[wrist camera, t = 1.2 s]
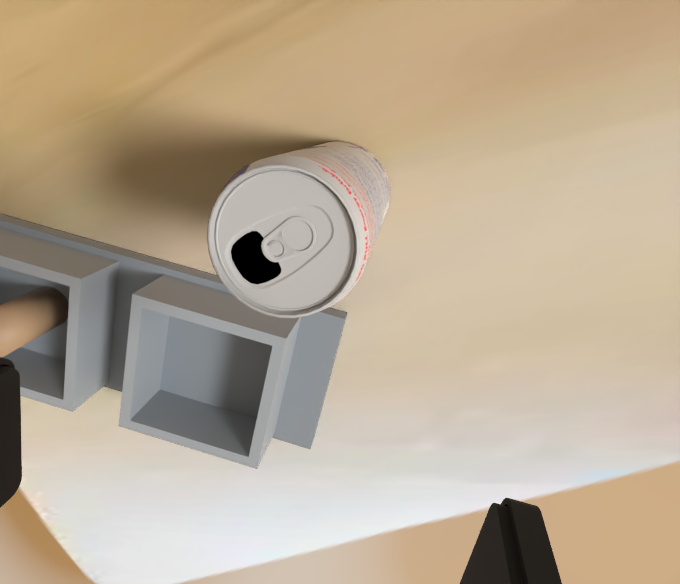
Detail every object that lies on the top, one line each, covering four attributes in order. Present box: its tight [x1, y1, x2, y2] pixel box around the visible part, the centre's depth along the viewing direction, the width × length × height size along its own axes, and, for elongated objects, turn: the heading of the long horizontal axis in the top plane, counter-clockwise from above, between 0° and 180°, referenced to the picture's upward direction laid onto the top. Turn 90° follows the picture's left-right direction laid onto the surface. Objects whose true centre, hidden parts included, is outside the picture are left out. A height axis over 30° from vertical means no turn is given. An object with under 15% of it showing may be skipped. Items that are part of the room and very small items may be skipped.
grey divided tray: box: [0, 214, 347, 469], centre depth 29 cm, size 24×9×6 cm, turn 76°
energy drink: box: [207, 141, 390, 318], centre depth 22 cm, size 5×5×12 cm
